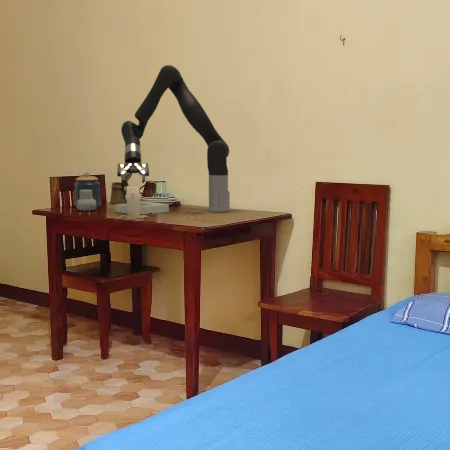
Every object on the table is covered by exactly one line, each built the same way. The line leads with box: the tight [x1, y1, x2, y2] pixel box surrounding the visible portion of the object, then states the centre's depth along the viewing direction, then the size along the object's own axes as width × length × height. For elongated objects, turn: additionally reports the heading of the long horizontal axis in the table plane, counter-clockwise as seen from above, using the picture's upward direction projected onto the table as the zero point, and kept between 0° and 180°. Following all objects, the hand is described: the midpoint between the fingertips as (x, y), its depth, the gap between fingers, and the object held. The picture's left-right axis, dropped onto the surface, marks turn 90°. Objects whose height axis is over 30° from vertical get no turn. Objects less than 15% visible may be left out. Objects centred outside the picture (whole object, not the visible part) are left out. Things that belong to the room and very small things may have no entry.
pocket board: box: [114, 201, 170, 215], centre depth 294 cm, size 18×18×4 cm
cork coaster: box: [118, 214, 149, 220], centre depth 273 cm, size 9×9×1 cm
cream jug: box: [125, 185, 141, 217], centre depth 271 cm, size 8×6×13 cm
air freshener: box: [76, 190, 97, 212], centre depth 298 cm, size 11×8×10 cm
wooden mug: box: [109, 173, 133, 205], centre depth 331 cm, size 9×14×18 cm, turn 63°
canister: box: [73, 171, 102, 208], centre depth 316 cm, size 13×13×18 cm
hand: (133, 182), depth 277 cm, fingers open, 8 cm apart
